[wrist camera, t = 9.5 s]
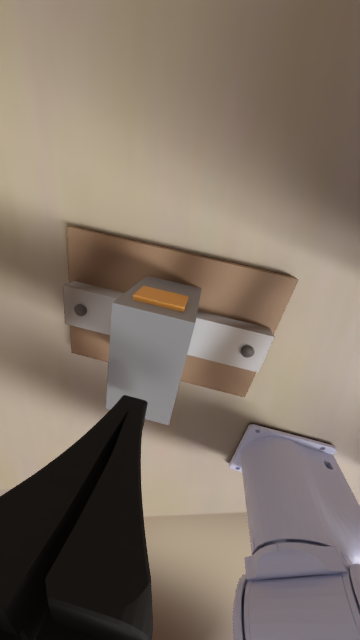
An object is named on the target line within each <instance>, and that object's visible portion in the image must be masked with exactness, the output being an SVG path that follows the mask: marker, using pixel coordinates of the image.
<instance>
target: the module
mask: <svg viewBox="0 0 360 640" xmlns="http://www.w3.org/2000/svg"><path fill="white" fill-rule="evenodd" d="M200 295H201V288H197V287H193V286H189V285H185V284H180V283H176V282H172V281H168V280H163V279H159V278H155V277H151V276H146V277H145V278H144V279H142V280H141V281H140V282H138V283H137V284H136V285H134V286H133V287H132V288H131V289H129V290H128V291H127V292H125V293H124V294H123V295H121V296H120V297H119V298H118V299H116V300H115V301H114V302H112V313H111V329H110V346H109V363H108V380H107V397H106V409H109V410H111V409H112V407H113V406H114V405H115V404H116V403H117V402H118V401H119V400H120V398H121V397H122V396H123V395H127V396H131V397H134V398H138V399H142V400H145V401H147V402H148V405H147V410H146V415H145V419H146V420H150V421H154V422H157V423H161V424H165V425H169V422H170V419H171V415H172V411H173V407H174V403H175V399H176V395H177V392H178V388H179V384H180V380H181V376H182V372H183V369H184V365H185V361H186V357H187V353H188V349H189V345H190V342H191V338H192V334H193V330H194V326H195V322H196V317H197V311H198V306H199V300H200Z"/></svg>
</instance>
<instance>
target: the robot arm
mask: <svg viewBox="0 0 360 640" xmlns="http://www.w3.org/2000/svg"><path fill="white" fill-rule="evenodd" d="M147 405H148V402H147V401H145V400H142V399H138V398H134V397H131V396H127V395H123V396H122V397H121V398H120V400H119V401H118V402H117V403H116V404H115V405H114V406H113V407H112V409H111V410H110V411H109V412H108V413H107V414H106V415H105V416H104V417H103V418H102V419H101V420H100V421H99V422H98V423H97V424H96V425H95V426H94V427H93V428H92V429H90V430H89V431H88V432H87V433H86V434H85V435H84V436H83V437H81V438H80V439H79V440H78V441H77V442H76V443H75V444H73V445H72V446H71V447H70V448H68V449H67V450H66V451H65V452H63V453H62V454H61V455H60V456H58V457H57V458H56V459H54V460H53V461H52V462H50V463H49V464H48V465H46V466H45V467H44V468H42V469H41V470H39V471H38V472H37V473H35V474H34V475H32V476H31V477H29V478H28V479H26V480H25V481H23V482H22V483H20V484H19V485H17V486H16V487H14V488H13V489H11V490H10V491H8V492H7V493H5V494H3V495H2V496H0V640H152V632H153V615H152V593H151V576H150V569H149V562H148V555H147V547H146V538H145V530H144V520H143V507H142V493H141V437H142V429H143V426H144V420H145V415H146V410H147ZM336 451H337V449H336V448H335V446H333V445H330V444H326V443H323V442H319V441H315V440H311V439H308V438H304V437H300V436H296V435H292V434H289V433H285V432H281V431H277V430H273V429H270V428H266V427H262V426H258V425H254V424H251V425H249V426H248V428H247V430H246V432H245V434H244V436H243V438H242V440H241V442H240V444H239V446H238V448H237V449H236V451H235V453H234V455H233V457H232V459H231V461H230V463H229V467H230V468H231V469H233V470H237V471H240V472H242V474H243V482H244V491H245V499H246V508H247V516H248V525H249V533H250V542H251V550H252V556H249V557H245V569H246V574H245V575H242V577H241V578H240V579H239V582H238V584H237V588H236V593H235V598H234V605H233V638H234V640H360V506H359V504H358V502H357V500H356V498H355V496H354V494H353V492H352V490H351V488H350V487H349V485H348V483H347V481H346V479H345V477H344V475H343V473H342V471H341V469H340V467H339V465H338V464H337V462H336V460H335V458H334V456H333V455H334V454H335V453H336Z"/></svg>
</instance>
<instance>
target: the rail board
mask: <svg viewBox="0 0 360 640" xmlns="http://www.w3.org/2000/svg"><path fill="white" fill-rule="evenodd" d="M67 242H68V269H69V283H68V284H66V285H63V294H64V314H65V324H68V325H71V350H72V353H75V354H79V355H83V356H86V357H90V358H94V359H98V360H102V361H106V362H109V346H110V329H111V313H112V302H114V301H115V300H116V299H118V298H119V297H120V296H121V295H123V294H124V293H125V292H127V291H128V290H129V289H131V288H132V287H133V286H134V285H136V284H137V283H138V282H140V281H141V280H142V279H144V278H145V277H146V276H151V277H155V278H159V279H163V280H168V281H172V282H176V283H180V284H185V285H189V286H193V287H197V288H201V295H200V300H199V306H198V311H197V317H196V322H195V326H194V330H193V334H192V338H191V342H190V345H189V349H188V353H187V357H186V361H185V365H184V369H183V372H182V376H181V380H180V381H183V382H187V383H191V384H195V385H199V386H203V387H206V388H210V389H214V390H218V391H222V392H226V393H230V394H233V395H237V396H241V397H245V396H246V394H247V392H248V389H249V387H250V385H251V383H252V381H253V378H254V376H255V374H256V372H259V370H260V368H261V365H262V363H263V361H264V359H265V357H266V355H267V352H268V350H269V348H270V346H271V344H272V342H273V339H274V332H275V330H276V328H277V326H278V324H279V322H280V319H281V317H282V315H283V313H284V311H285V308H286V306H287V304H288V302H289V300H290V297H291V295H292V293H293V291H294V289H295V286H296V284H297V282H298V279H297V278H295V277H293V276H288V275H284V274H280V273H275V272H271V271H267V270H262V269H258V268H253V267H249V266H245V265H240V264H236V263H232V262H227V261H223V260H218V259H214V258H210V257H205V256H201V255H197V254H192V253H188V252H183V251H179V250H175V249H170V248H166V247H162V246H157V245H153V244H148V243H144V242H140V241H135V240H131V239H127V238H122V237H118V236H113V235H109V234H105V233H100V232H96V231H92V230H87V229H83V228H78V227H67Z"/></svg>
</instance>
